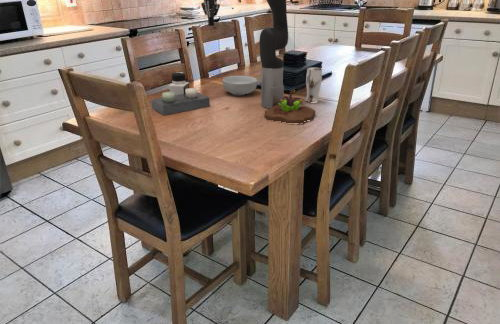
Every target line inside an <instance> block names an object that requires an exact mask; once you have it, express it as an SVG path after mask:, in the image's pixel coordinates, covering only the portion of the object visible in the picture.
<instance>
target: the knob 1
mask: <svg viewBox="0 0 500 324" xmlns="http://www.w3.org/2000/svg"><path fill="white" fill-rule="evenodd" d="M161 98H162V99H163V102H165V103H168V102H174V101H175V94H174V92H170V91H165V92H161Z"/></svg>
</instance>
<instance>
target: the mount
mask: <svg viewBox="0 0 500 324" xmlns="http://www.w3.org/2000/svg"><path fill="white" fill-rule="evenodd" d="M197 94H198V97H196V98H190V99H189V98H187V97H186V93H185V94H180V95H175V101H174V102H168V103H165V102H163V99H162V97H157V98H152V99H150V102H151V109H152V110H154V111H155V112H157V113H159V114H160V115H163V116H168V115H173V114H178V113H183V112H187V111H188V112H189V111H193V110H198V109H199V110H200V109H203V108H208V107H210V106H211V104H210V102H211V101H210V97H209V96H207V95H204V94H202V93H200V92H198V91H197Z"/></svg>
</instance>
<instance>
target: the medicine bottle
mask: <svg viewBox="0 0 500 324" xmlns="http://www.w3.org/2000/svg"><path fill="white" fill-rule="evenodd" d="M171 80H172V81H171V82H172V83H170V84H169V87H168V89H169V92H174V94H175V95H180V94H185V89H187V88H190V83H189V81H186V74H185V73H184V72H180V71H177V72H176V71H175V72H173V73H172V74H171Z"/></svg>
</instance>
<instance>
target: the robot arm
mask: <svg viewBox="0 0 500 324" xmlns="http://www.w3.org/2000/svg"><path fill="white" fill-rule="evenodd" d="M266 2H267V4H268V6H269V9H270V11H271V13H272V25H273V26H272V27H265V28H264V29H262V30H261V31H260V34H259V58H260V62H261V78H260V79H261V83H260V85H261V89H260V91H261V92H260V93H261V95H260V98H261V99H260V100H261V101H260V104H261V105H260V106H261V107H263V108H265V107H266V109H270V108H272V107H274V106H275V105H279V104H278V103H280V104H282V103H281V99H282V98H283V97H285V96H284V95H285V94H284V92H285V85H284V82H283V80H284V79H283V78H284V59H282V58H279V57H278V56H277V53H276V51H278V50H279V51H280V50H284V49H285V48H286V47H287V46H288V43H289V26H288V16H287V0H266ZM200 5H201V8H202V10H203V13H204V15H205V16H206V17H207V23H208V24H207V25H208V26H209V27H213V26H215V17H216V16H217V15H218V12H219V10H220V6H221V4H220V3H218V2H217V0H203V2H201V3H200Z"/></svg>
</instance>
